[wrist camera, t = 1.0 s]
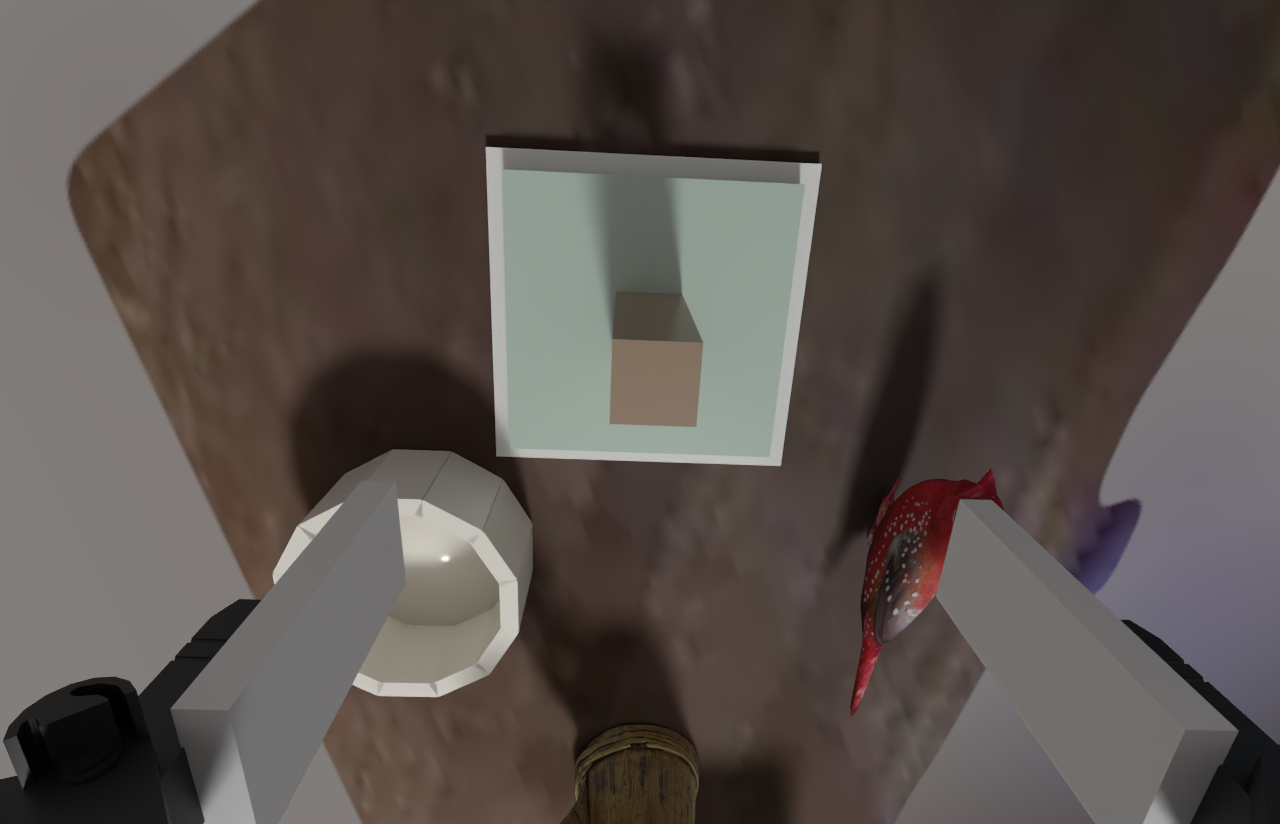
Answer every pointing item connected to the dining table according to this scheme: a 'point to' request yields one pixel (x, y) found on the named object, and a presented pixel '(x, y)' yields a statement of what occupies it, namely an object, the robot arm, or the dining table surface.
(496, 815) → the dining table surface
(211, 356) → the dining table surface
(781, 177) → the mat
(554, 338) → the lid
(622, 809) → the wooden mug
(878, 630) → the decorative bird figurine
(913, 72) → the dining table surface
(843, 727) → the dining table surface
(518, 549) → the bowl
